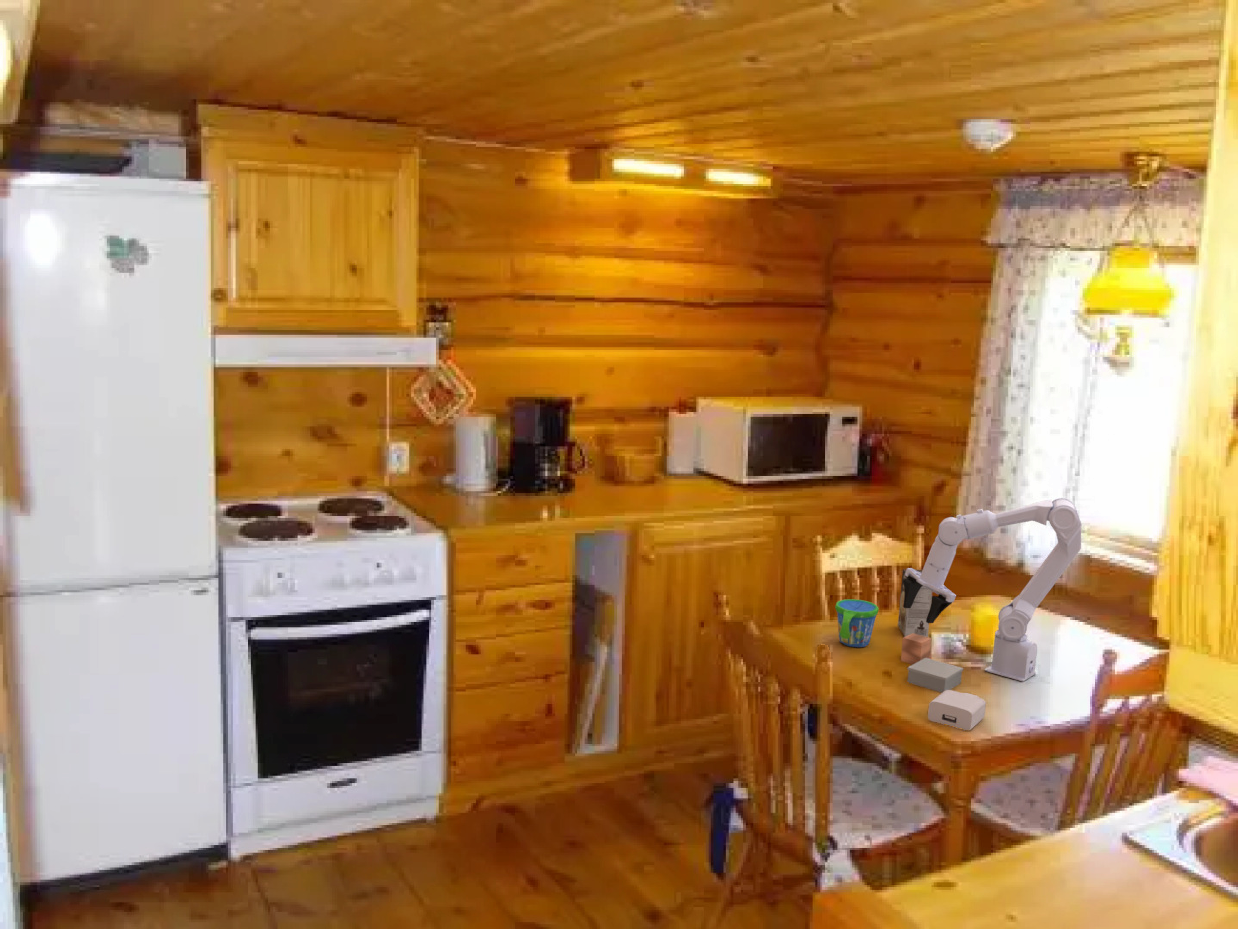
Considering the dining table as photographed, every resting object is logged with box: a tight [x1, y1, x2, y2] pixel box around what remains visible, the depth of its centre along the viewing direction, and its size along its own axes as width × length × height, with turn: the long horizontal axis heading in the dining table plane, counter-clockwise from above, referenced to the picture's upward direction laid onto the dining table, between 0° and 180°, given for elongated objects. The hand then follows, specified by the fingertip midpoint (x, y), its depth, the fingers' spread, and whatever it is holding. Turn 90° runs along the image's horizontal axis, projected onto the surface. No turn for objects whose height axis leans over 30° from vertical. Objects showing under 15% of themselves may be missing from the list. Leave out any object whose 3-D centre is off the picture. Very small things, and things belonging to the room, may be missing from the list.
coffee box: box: [897, 568, 933, 638], centre depth 293 cm, size 9×6×16 cm
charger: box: [927, 689, 987, 731], centre depth 240 cm, size 5×9×15 cm
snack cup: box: [834, 598, 880, 648], centre depth 283 cm, size 16×10×10 cm
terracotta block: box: [900, 633, 932, 665], centre depth 272 cm, size 5×5×6 cm
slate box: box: [907, 658, 964, 694], centre depth 258 cm, size 9×9×4 cm
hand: (917, 615), depth 272 cm, fingers open, 7 cm apart
